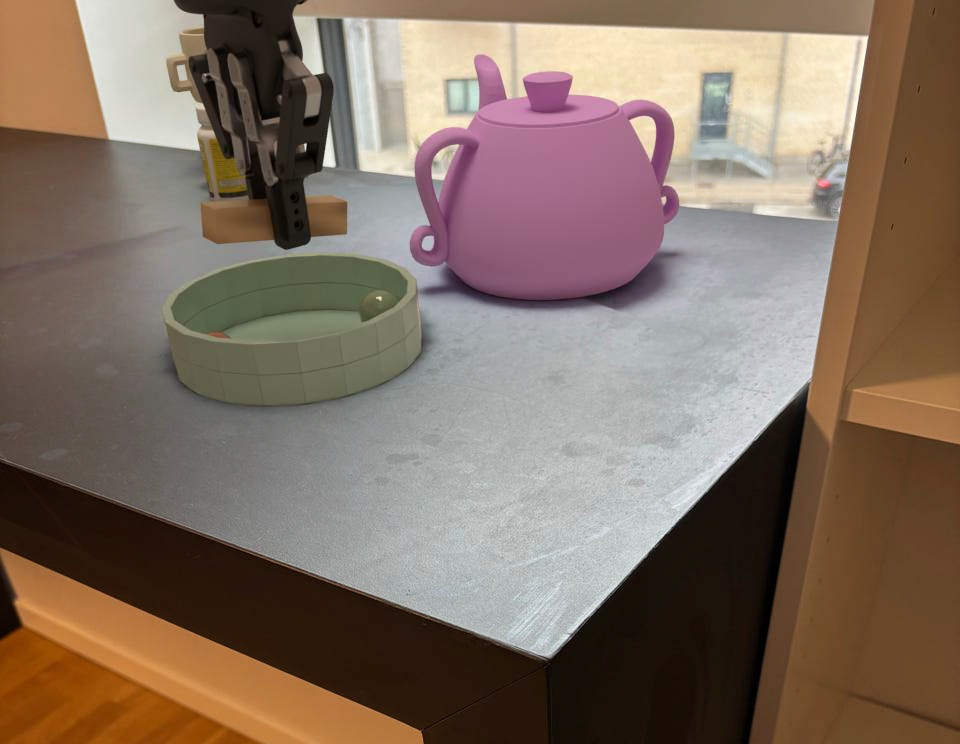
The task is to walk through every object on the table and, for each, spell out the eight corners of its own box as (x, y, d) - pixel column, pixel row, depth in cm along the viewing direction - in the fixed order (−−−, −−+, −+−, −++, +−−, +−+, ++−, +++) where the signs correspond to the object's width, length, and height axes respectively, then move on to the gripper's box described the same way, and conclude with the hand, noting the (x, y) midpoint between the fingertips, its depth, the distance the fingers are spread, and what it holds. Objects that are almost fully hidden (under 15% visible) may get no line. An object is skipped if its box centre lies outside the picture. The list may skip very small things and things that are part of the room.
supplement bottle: (268, 194, 101) (252, 100, 95) (235, 207, 98) (217, 111, 92) (234, 189, 103) (216, 97, 98) (200, 202, 100) (180, 107, 95)
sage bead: (378, 302, 66) (383, 347, 68) (410, 288, 67) (414, 332, 69) (347, 293, 67) (352, 337, 69) (379, 279, 69) (384, 322, 71)
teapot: (596, 210, 91) (599, 33, 83) (732, 283, 75) (755, 72, 67) (363, 252, 85) (341, 65, 77) (458, 340, 69) (443, 117, 61)
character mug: (274, 153, 114) (253, 19, 106) (297, 165, 110) (276, 26, 101) (180, 169, 111) (150, 32, 103) (200, 183, 106) (170, 39, 98)
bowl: (248, 440, 59) (233, 367, 56) (140, 358, 69) (122, 293, 67) (470, 361, 66) (466, 293, 64) (342, 298, 77) (334, 237, 74)
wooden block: (331, 227, 66) (331, 195, 65) (347, 234, 65) (347, 201, 64) (202, 237, 61) (199, 201, 60) (216, 244, 60) (214, 208, 59)
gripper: (360, -105, 50) (394, 252, 61) (232, -107, 59) (282, 206, 70) (222, -93, 47) (285, 284, 57) (108, -97, 55) (181, 230, 66)
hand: (283, 240), depth 63 cm, fingers closed on wooden block, 2 cm apart
